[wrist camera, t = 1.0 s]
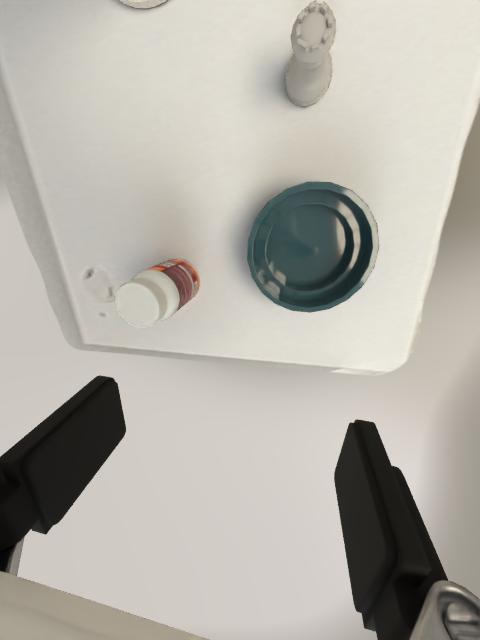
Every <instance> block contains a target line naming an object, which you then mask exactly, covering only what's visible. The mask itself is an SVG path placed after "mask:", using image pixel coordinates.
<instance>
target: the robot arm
mask: <svg viewBox="0 0 480 640" xmlns="http://www.w3.org/2000/svg"><path fill="white" fill-rule="evenodd" d="M119 1H121V2H122V3H124V4H126V5H129V6H132V7H134V8H150V7H155V6H158V5H160V4H161V3H163V2H165V1H167V0H119ZM125 432H126V426H125V420H124V415H123V410H122V405H121V400H120V394H119V390H118V384H117V383H116V382H115V380H114V379H113V378H111V377H105V376H97V377H96V378H94V379H93V380H92V381H91V382H89V383H88V384H87V385H86V386H85V387H83V388H82V389H81V390H80V391H79V392H77V393H76V394H75V395H74V396H73V397H72V398H70V399H69V400H68V401H67V402H66V403H64V404H63V405H62V406H61V407H60V408H58V409H57V410H56V411H55V412H54V413H52V414H51V415H50V416H49V417H47V418H46V419H45V420H44V421H43V422H41V423H40V424H39V425H38V426H37V427H35V428H34V429H33V430H32V431H31V432H30V433H29V434H27V435H26V436H25V437H24V438H22V439H21V440H20V441H19V442H18V443H16V444H15V445H14V446H13V447H12V448H10V449H9V450H8V451H7V452H6V453H4V454H3V455H2V456H1V457H0V640H208V639H205V638H202V637H199V636H196V635H193V634H190V633H187V632H185V631H182V630H178V629H175V628H173V627H169V626H167V625H164V624H160V623H157V622H155V621H151V620H149V619H146V618H142V617H139V616H136V615H133V614H130V613H127V612H124V611H121V610H118V609H115V608H112V607H109V606H106V605H103V604H100V603H97V602H94V601H91V600H88V599H85V598H82V597H79V596H76V595H73V594H70V593H67V592H64V591H60V590H57V589H54V588H51V587H48V586H45V585H42V584H39V583H36V582H33V581H30V580H26V579H24V578H21V577H17V573H18V568H19V562H20V557H21V552H22V546H23V541H24V536H25V535H26V534H27V533H28V532H29V530H30V529H32V531H36V532H39V533H43V534H47V533H48V531H49V530H50V529H51V527H52V526H53V525H55V524H57V523H58V522H59V521H60V520H61V519H62V518H63V517H64V515H65V514H66V513H67V511H68V510H69V509H70V507H71V506H72V505H73V503H74V502H75V501H76V499H77V498H78V497H79V495H80V494H81V493H82V491H83V490H84V489H85V487H86V486H87V485H88V484H89V482H90V481H91V480H92V478H93V477H94V476H95V474H96V473H97V471H98V470H99V469H100V467H101V466H102V465H103V463H104V462H105V461H106V460H107V458H108V457H109V456H110V454H111V453H112V452H113V450H114V449H115V447H116V446H117V445H118V444H119V442H120V441H121V440H122V438H123V437H124V435H125ZM334 475H335V476H334V479H335V487H336V494H337V500H338V506H339V513H340V519H341V525H342V532H343V538H344V543H345V551H346V557H347V563H348V569H349V576H350V582H351V588H352V595H353V601H354V605H355V609H356V611H357V612H360V613H362V617H363V623H364V628H365V629H369V630H372V631H376V633H377V638H378V640H480V599H479V598H478V597H477V596H475V595H474V594H473V593H471V592H470V591H469V590H467V589H466V588H464V587H463V586H460V585H458V584H456V583H454V582H451V581H448V579H447V576H446V574H445V572H444V569H443V567H442V564H441V562H440V560H439V557H438V555H437V553H436V550H435V548H434V546H433V543H432V541H431V539H430V536H429V534H428V532H427V529H426V527H425V525H424V522H423V520H422V517H421V515H420V513H419V510H418V508H417V506H416V503H415V501H414V499H413V496H412V494H411V492H410V489H409V487H408V485H407V482H406V480H405V478H404V476H403V474H402V472H401V470H400V469H399V468H397V467H394V466H391V463H390V461H389V458H388V456H387V453H386V451H385V448H384V445H383V443H382V440H381V438H380V435H379V433H378V430H377V428H376V425H375V424H374V423H373V422H369V421H363V420H355V422H354V423H349V426H348V429H347V433H346V436H345V439H344V442H343V446H342V449H341V453H340V456H339V459H338V462H337V466H336V469H335V474H334Z"/></svg>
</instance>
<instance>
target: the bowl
mask: <svg viewBox="0 0 480 640" xmlns="http://www.w3.org/2000/svg"><path fill="white" fill-rule="evenodd" d="M378 249H379V239H378V228H377V223H376V221H375V219H374V217H373V215H372V213H371V211H370V209H369V207H368V206H367V204H366V203H365V202H364V201H363V200H362V199H361V198H360V197H358V196H357V195H356V194H355V193H354V192H353V191H351V190H350V189H347V188H345V187H342V186H339V185H337V184H334V183H332V182H306V183H303V184H300V185H297V186H294V187H291V188H288V189H287V190H284V191H283V192H282V193H280V194H279V195H278V196H276V197H275V198H274V199H272V200H271V201H270V202H268V203H267V205H266V206H265V207H264V209H263V210H262V211H261V213H260V214H259V216H258V217H257V218H256V220H255V222H254V225H253V227H252V230H251V233H250V236H249V239H248V255H247V259H248V264H249V267H250V271H251V275H252V278H253V279H254V281H255V283H256V284H257V286H258V287H259V289H260V290H261V292H262V293H263V294H264V295H265V296H267V297H268V298H269V299H270V300H272V301H273V302H274V303H275V304H277V305H280V306H282V307H284V308H287V309H289V310H292V311H301V312H316V311H321V310H326V309H330V308H332V307H334V306H336V305H338V304H340V303H342V302H344V301H346V300H348V299H349V298H350V297H351V296H352V295H353V294H355V293H356V292H357V291H358V290H359V289H360V288H361V287H362V286H363V285H364V283H365V282H366V280H367V278H368V277H369V275H370V273H371V272H372V270H373V268H374V265H375V261H376V257H377V253H378Z"/></svg>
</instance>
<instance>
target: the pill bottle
mask: <svg viewBox="0 0 480 640" xmlns="http://www.w3.org/2000/svg"><path fill="white" fill-rule="evenodd" d="M199 286H200V280H199V276H198V273H197V271H196V270H195V268H194V267H193V266H192V265H191V264H190V263H188V262H186V261H184V260H180V259H173V260H170V261H167V262H164V263H161V264H159V265H156V266H153V267H151V268H148V269H146V270H143V271H141V272H139V273H137V274H136V275H135V276H134V277H133V278H132V279H131V281H129V282H127V283H125V284H123V285H122V286H121V287H119V289H118V290H117V292H116V295H115V305H116V308H117V311H118V313H119V314H120V316H121V317H122V318H123V319H124V320H125V321H126V322H127V323H128V324H130V325H132V326H134V327H137V328H148V327H150V326H152V325H154V324H155V323H156V322H158V321H161V320H165V319H167V318H169V317H170V316H172V315H173V314H174V313H175V312H176V311H177V310H179V309H180V308H181V307H182V306H183V305H185V304H186V303H187V302H188V301H189V300H191V299H192V298H193V297H194V296H195V295H196V294H197V292H198V290H199Z"/></svg>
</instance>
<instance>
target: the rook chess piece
mask: <svg viewBox="0 0 480 640" xmlns="http://www.w3.org/2000/svg"><path fill="white" fill-rule="evenodd" d="M335 34H336V20H335V17H334V15H333V12H332V10H331V9H329V6H328V5H327V4H326V3H325V2H324V1H323V4H318V3H316V1H313V2H311V3H309V6H308V7H306V8H305V9H304V10H302V12H301V13H300V14H299V15H298V17H297V19H296V21H295V23H294V25H293V29H292V34H291V44H292V49H293V52H294V54H293V56H292V58H291V60H290V61H289V63H288V67H287V72H286V79H285V83H286V91H287V93H288V95H289V97H290V99H291V100H292V101H293V102H294V103H296V104H297V105H301V106H308V105H312V104H315V103H316V102H317V101H318V100H320V99H321V98H322V97H323V95H324V94H325V92H326V91H327V89H328V88H329V84H330V80H331V77H332V59H331V56H330V54H329V52H328V51H329V49H330V48H331V46H332V44H333V42H334V38H335Z"/></svg>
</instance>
